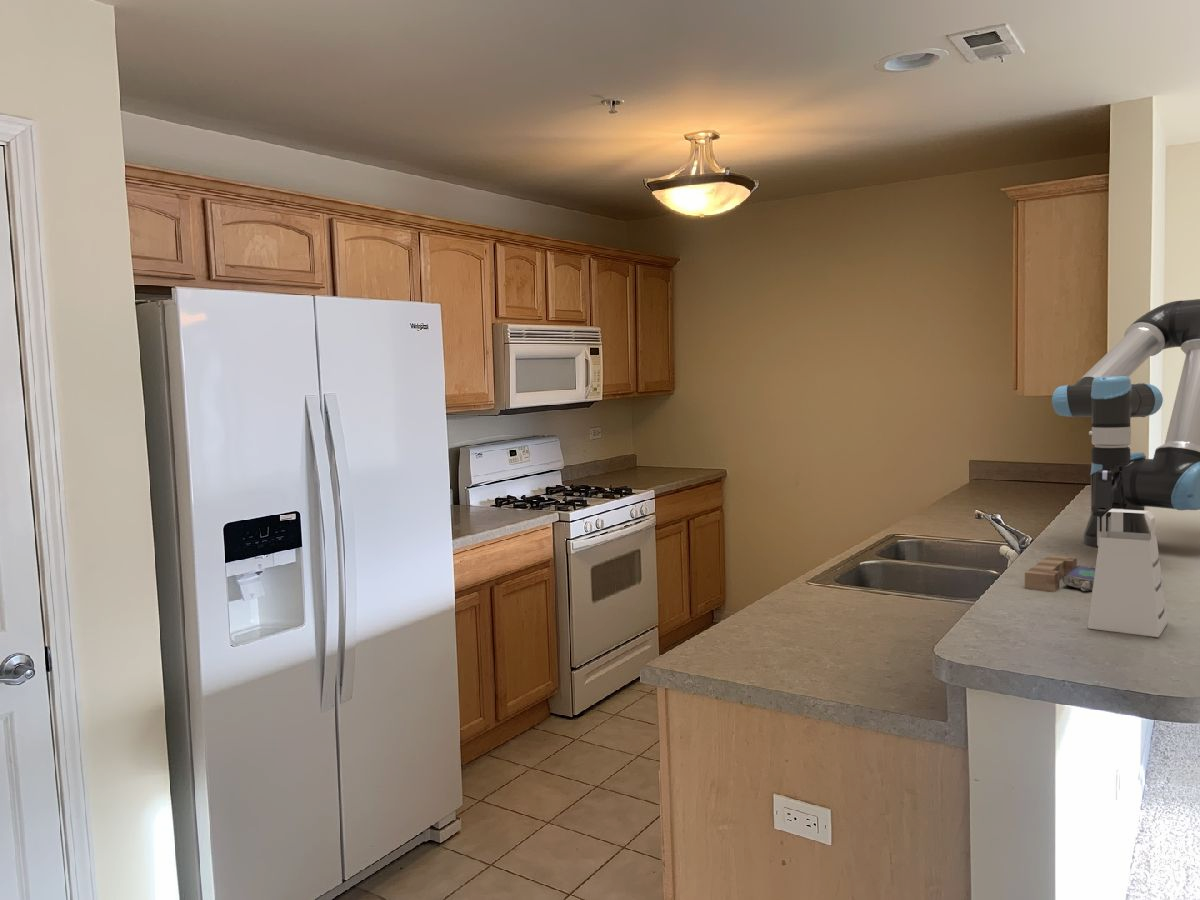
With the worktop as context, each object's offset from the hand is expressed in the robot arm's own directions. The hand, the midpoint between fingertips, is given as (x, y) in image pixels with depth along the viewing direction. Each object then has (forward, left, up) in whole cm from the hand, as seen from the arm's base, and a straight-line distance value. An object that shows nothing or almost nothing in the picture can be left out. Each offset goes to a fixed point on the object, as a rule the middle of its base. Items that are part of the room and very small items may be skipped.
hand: (1110, 541), depth 198 cm
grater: (+49, +11, -6) cm, 50 cm away
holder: (+19, 0, -6) cm, 20 cm away
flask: (+17, 0, -7) cm, 19 cm away
